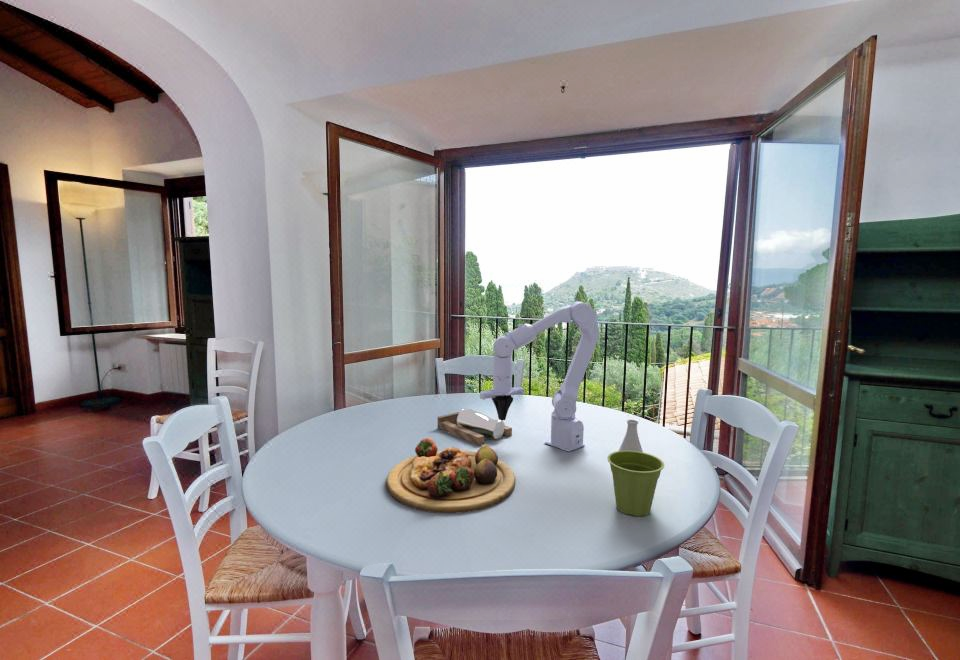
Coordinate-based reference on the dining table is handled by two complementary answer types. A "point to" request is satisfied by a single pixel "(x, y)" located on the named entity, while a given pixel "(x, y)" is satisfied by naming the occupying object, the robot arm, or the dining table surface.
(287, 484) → the dining table surface
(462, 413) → the beer glass
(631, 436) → the flask
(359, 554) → the dining table surface
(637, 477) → the plant pot
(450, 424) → the cradle
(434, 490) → the wooden plate with food
